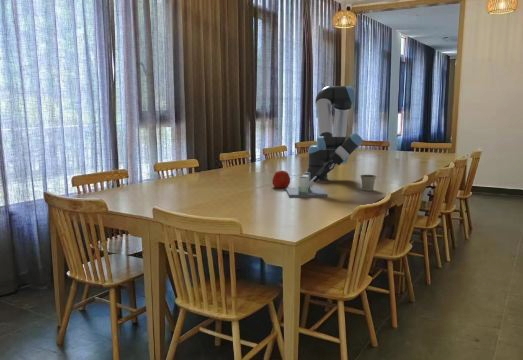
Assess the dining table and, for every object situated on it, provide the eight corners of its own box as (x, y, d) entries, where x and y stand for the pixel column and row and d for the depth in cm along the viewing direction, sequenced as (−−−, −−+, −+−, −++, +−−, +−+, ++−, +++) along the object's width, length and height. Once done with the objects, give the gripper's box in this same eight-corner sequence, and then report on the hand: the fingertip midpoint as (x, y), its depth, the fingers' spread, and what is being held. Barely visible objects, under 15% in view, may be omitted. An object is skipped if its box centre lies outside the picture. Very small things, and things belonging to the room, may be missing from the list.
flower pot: (364, 191, 262) (365, 177, 261) (356, 189, 271) (357, 174, 270) (378, 191, 265) (379, 176, 263) (370, 188, 274) (371, 174, 272)
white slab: (303, 186, 266) (304, 171, 264) (310, 187, 265) (311, 172, 263) (299, 191, 250) (299, 175, 249) (306, 192, 249) (306, 176, 248)
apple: (288, 189, 269) (289, 171, 267) (270, 188, 271) (271, 171, 269) (291, 186, 279) (291, 169, 277) (273, 185, 281) (274, 168, 279)
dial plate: (285, 190, 267) (285, 180, 266) (320, 189, 267) (321, 180, 266) (289, 197, 245) (289, 187, 244) (327, 197, 246) (327, 187, 245)
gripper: (346, 161, 246) (315, 192, 248) (341, 159, 259) (312, 188, 260) (337, 152, 245) (306, 182, 247) (332, 150, 257) (303, 179, 259)
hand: (309, 185), depth 253 cm, fingers closed
